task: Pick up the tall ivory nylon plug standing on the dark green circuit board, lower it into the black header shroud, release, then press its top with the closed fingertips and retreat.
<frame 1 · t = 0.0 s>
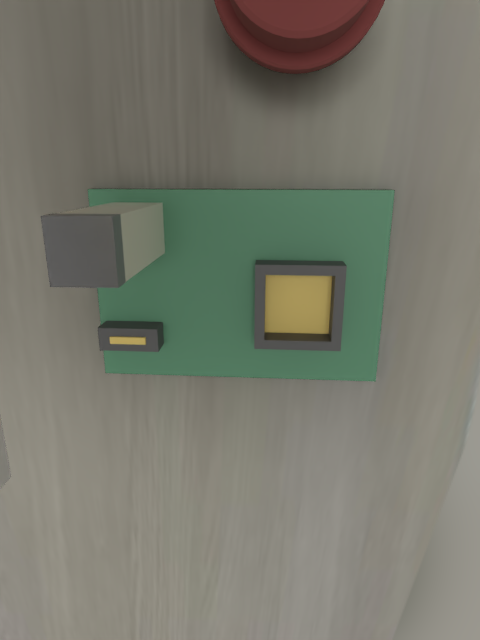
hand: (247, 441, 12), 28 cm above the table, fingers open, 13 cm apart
board: (238, 286, 39), on the table
mechanical component: (294, 16, 33), on the table
plug: (139, 227, 37), point 1 cm above the table, touching board
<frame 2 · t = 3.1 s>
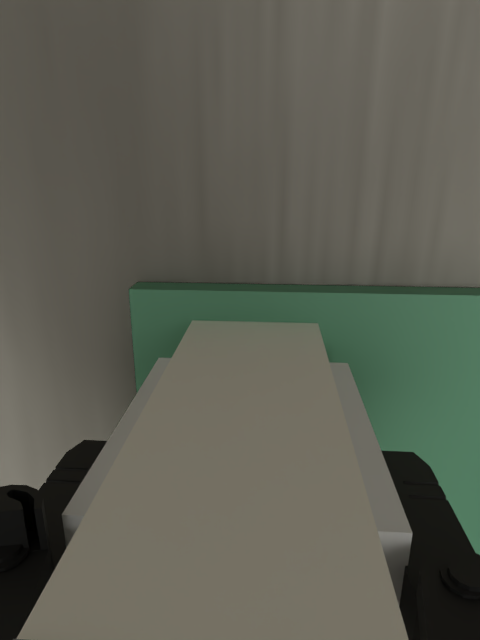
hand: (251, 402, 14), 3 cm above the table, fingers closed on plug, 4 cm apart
board: (467, 496, 17), on the table
plug: (253, 379, 15), point 1 cm above the table, touching board, gripper
when the fingers open (4 cm above the table, at t = 7.3 s): plug drops 1 cm, resting on board.
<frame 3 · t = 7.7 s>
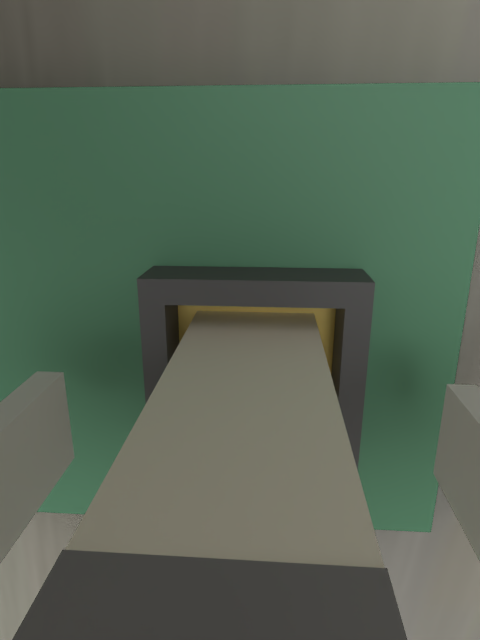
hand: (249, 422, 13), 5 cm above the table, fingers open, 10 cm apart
board: (124, 325, 17), on the table
plug: (254, 365, 16), point 1 cm above the table, touching board
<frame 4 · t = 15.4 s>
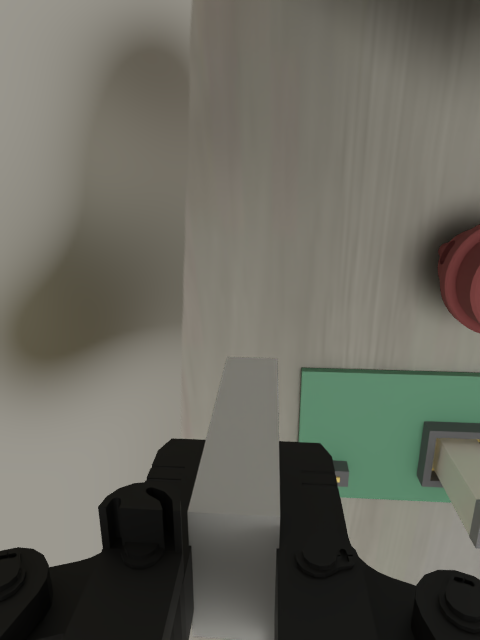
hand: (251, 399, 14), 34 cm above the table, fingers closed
board: (405, 435, 52), on the table
mechanical component: (467, 261, 46), on the table
plug: (452, 450, 51), point 1 cm above the table, touching board
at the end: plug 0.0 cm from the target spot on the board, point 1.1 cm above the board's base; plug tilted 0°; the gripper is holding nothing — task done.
